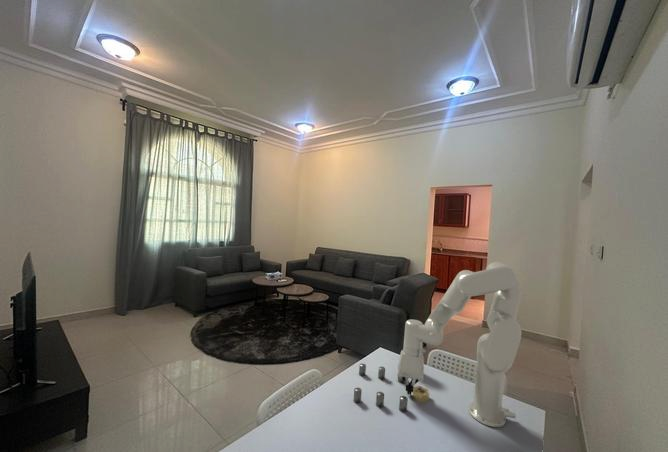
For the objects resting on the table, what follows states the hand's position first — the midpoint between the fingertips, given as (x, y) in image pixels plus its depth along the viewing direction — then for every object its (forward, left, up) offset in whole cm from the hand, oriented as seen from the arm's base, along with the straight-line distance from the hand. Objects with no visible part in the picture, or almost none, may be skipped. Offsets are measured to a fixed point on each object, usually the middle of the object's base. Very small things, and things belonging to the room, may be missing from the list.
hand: (409, 392), depth 119 cm
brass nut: (-5, 0, -1) cm, 5 cm away
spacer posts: (+12, 0, -1) cm, 12 cm away
